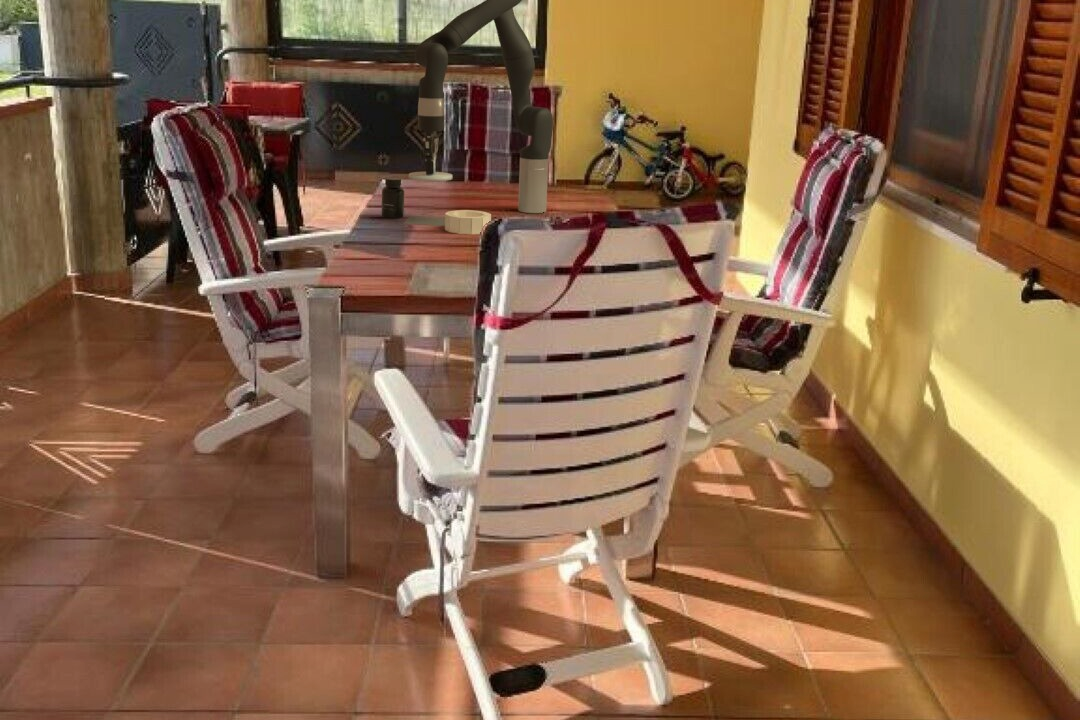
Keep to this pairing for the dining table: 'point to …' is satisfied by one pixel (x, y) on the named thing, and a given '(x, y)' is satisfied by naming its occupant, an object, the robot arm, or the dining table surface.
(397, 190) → the supplement bottle
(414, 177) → the lid
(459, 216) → the bowl
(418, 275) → the dining table surface
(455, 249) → the dining table surface
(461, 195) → the dining table surface
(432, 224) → the mat
